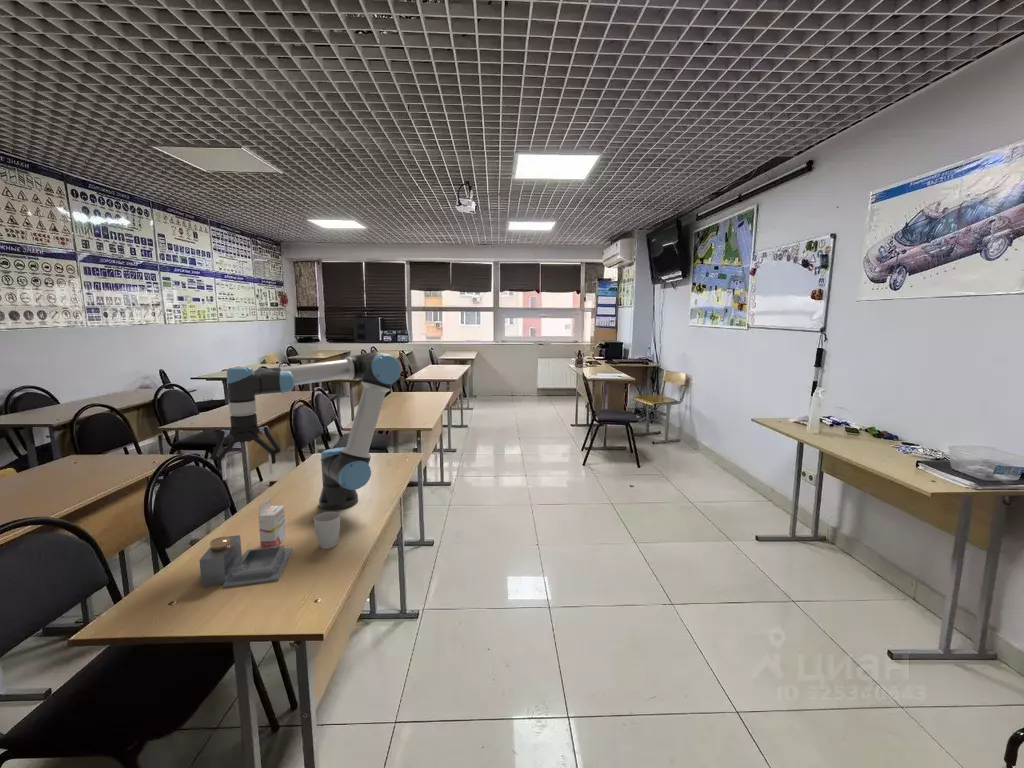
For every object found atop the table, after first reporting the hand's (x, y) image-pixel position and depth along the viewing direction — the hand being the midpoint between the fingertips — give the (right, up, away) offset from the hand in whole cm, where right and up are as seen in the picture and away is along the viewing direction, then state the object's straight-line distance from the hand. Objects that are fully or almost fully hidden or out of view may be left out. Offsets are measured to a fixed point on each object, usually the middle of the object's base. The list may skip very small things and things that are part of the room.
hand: (248, 476), depth 150 cm
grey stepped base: (+9, -25, -16) cm, 31 cm away
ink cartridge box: (+8, -23, 0) cm, 24 cm away
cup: (+27, -23, -1) cm, 36 cm away
